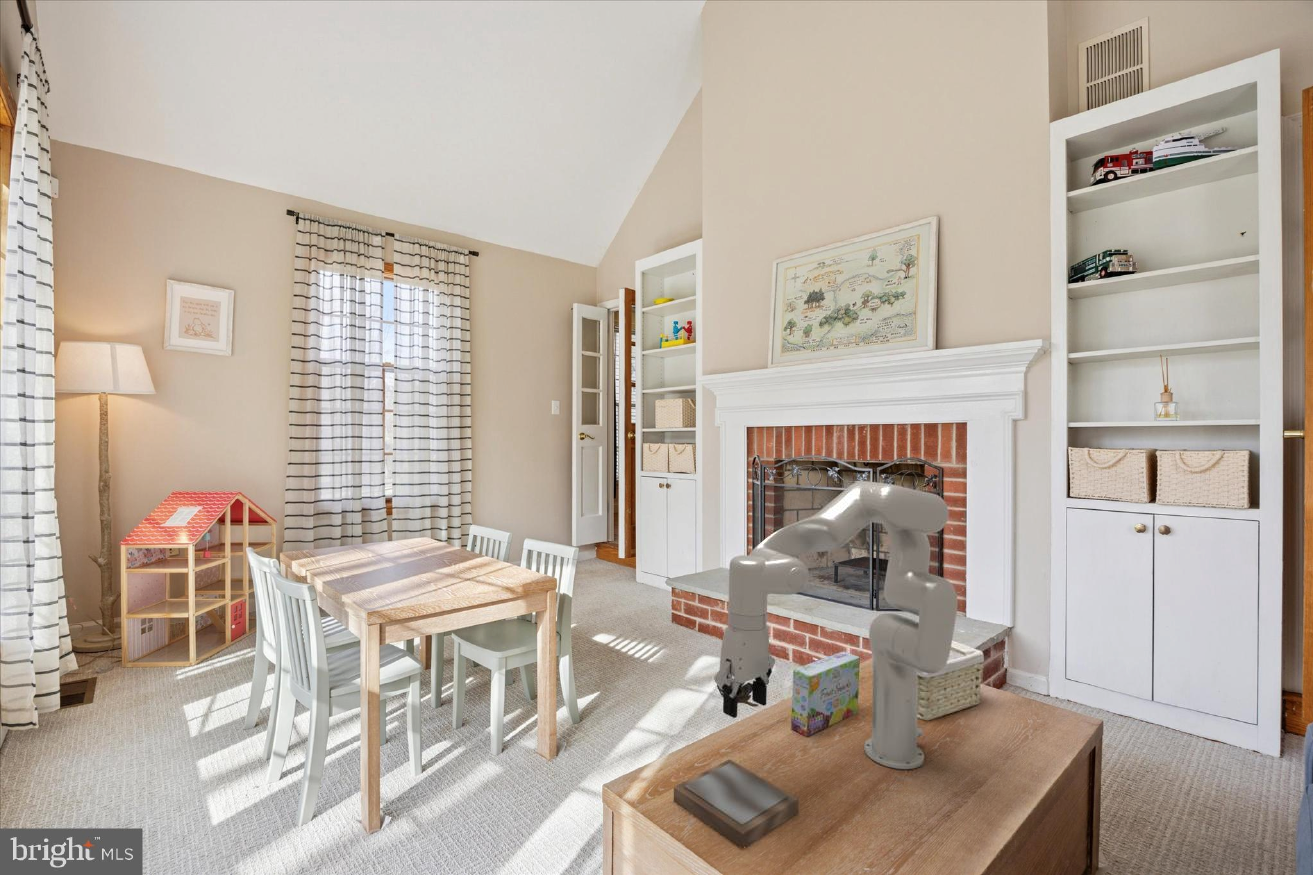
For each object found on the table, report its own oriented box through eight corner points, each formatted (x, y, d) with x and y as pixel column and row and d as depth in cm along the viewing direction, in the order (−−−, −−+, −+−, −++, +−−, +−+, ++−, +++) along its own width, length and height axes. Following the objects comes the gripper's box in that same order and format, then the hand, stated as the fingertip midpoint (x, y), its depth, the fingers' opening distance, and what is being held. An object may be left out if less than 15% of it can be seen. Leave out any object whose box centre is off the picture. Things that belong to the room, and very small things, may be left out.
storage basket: (924, 725, 154) (925, 666, 153) (874, 699, 168) (875, 645, 168) (986, 706, 164) (987, 651, 164) (934, 683, 179) (935, 633, 179)
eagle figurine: (750, 725, 119) (746, 707, 128) (764, 691, 119) (759, 675, 128) (713, 709, 119) (712, 692, 128) (727, 675, 119) (725, 660, 128)
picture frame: (729, 771, 132) (729, 757, 132) (798, 812, 118) (798, 797, 118) (673, 800, 121) (673, 785, 121) (742, 849, 108) (742, 832, 108)
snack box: (809, 738, 146) (810, 675, 146) (790, 729, 150) (791, 668, 150) (859, 713, 159) (860, 655, 159) (840, 705, 164) (842, 649, 164)
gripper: (761, 607, 129) (759, 691, 129) (702, 623, 118) (699, 714, 118) (790, 616, 123) (788, 703, 124) (730, 634, 112) (728, 729, 112)
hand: (744, 708), depth 121 cm, fingers closed on eagle figurine, 7 cm apart
